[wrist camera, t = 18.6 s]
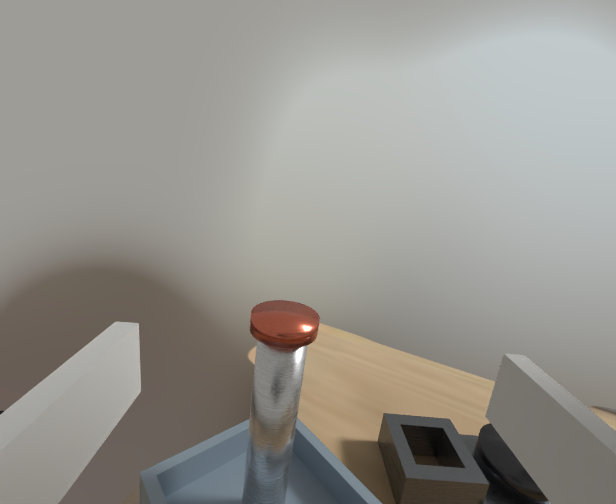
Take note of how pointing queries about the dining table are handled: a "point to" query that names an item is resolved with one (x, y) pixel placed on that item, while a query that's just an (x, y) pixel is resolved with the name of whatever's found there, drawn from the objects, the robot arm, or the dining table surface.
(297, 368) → the lock pin
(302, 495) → the tray
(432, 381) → the dining table surface
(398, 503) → the bracket
